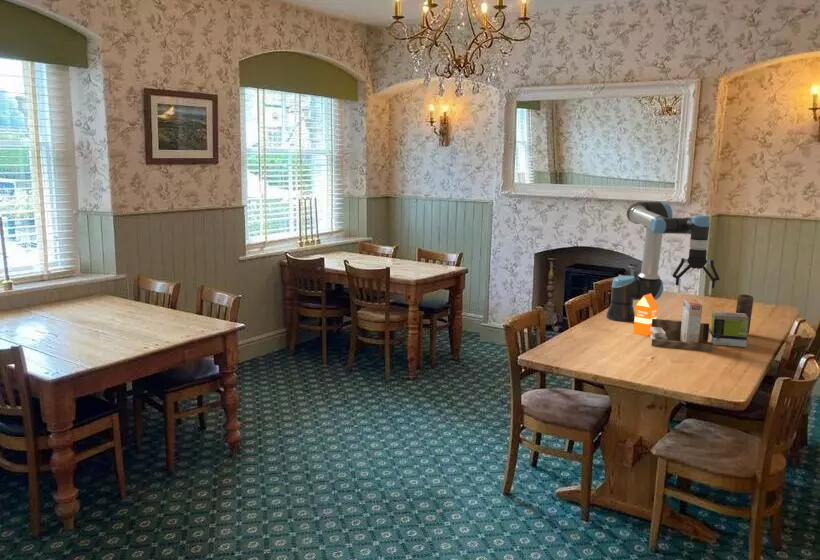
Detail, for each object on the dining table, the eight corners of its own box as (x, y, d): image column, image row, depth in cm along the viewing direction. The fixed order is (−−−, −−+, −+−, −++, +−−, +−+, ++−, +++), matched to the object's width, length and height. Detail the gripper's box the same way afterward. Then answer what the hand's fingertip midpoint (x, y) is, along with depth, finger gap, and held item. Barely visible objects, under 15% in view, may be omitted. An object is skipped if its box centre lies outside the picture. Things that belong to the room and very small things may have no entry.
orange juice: (655, 332, 341) (658, 294, 338) (647, 336, 335) (651, 296, 331) (640, 330, 346) (643, 292, 343) (632, 333, 340) (636, 294, 337)
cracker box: (698, 349, 313) (703, 305, 309) (684, 348, 314) (689, 304, 311) (692, 341, 327) (696, 299, 323) (679, 340, 328) (683, 298, 324)
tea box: (742, 342, 326) (746, 312, 324) (746, 348, 317) (749, 317, 314) (709, 339, 331) (712, 310, 328) (711, 344, 321) (714, 314, 319)
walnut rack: (651, 345, 317) (653, 327, 315) (650, 336, 334) (652, 318, 333) (711, 351, 309) (713, 332, 308) (707, 341, 327) (709, 323, 325)
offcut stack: (653, 344, 319) (654, 332, 318) (649, 338, 331) (650, 326, 330) (666, 345, 318) (667, 333, 317) (661, 339, 330) (662, 327, 329)
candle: (749, 333, 344) (753, 295, 340) (749, 336, 337) (754, 297, 334) (732, 331, 347) (736, 293, 344) (732, 334, 341) (737, 296, 337)
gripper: (670, 248, 313) (666, 292, 316) (728, 251, 305) (724, 297, 309) (669, 246, 320) (665, 290, 323) (726, 249, 312) (721, 294, 316)
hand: (694, 293), depth 316 cm, fingers open, 13 cm apart
